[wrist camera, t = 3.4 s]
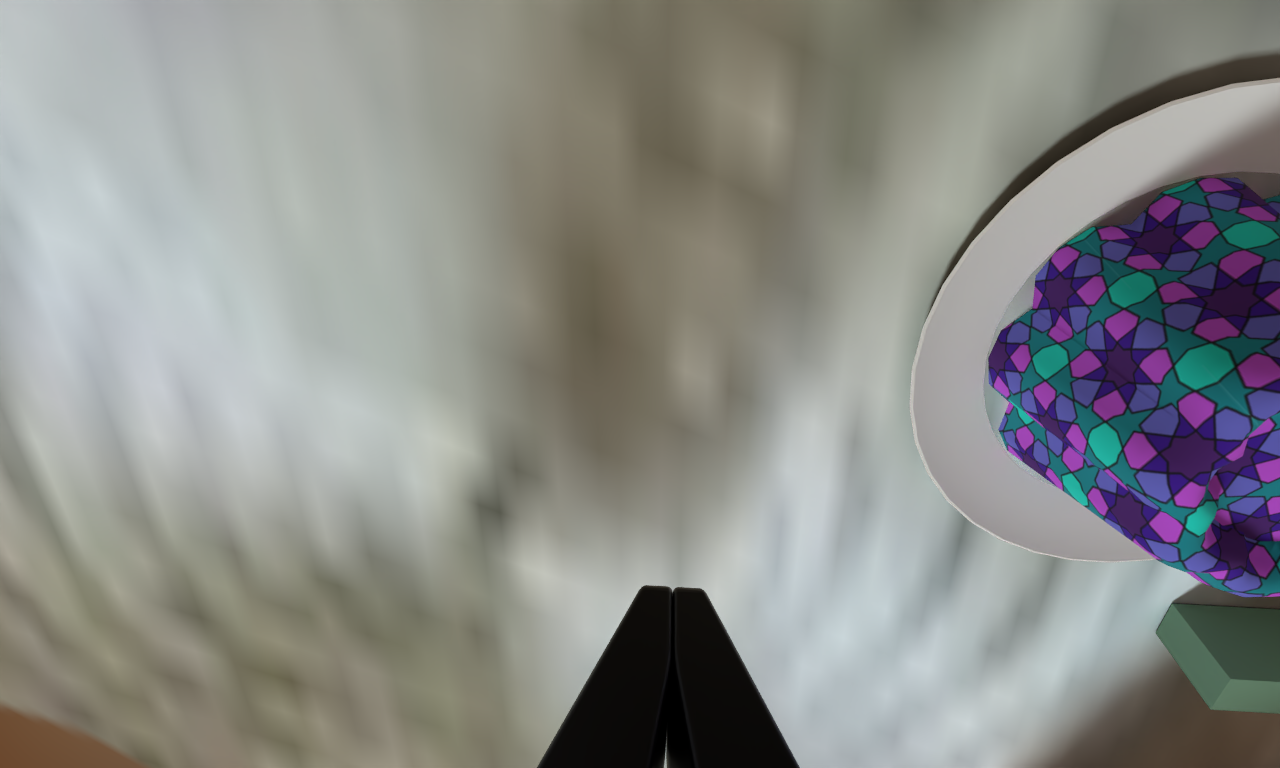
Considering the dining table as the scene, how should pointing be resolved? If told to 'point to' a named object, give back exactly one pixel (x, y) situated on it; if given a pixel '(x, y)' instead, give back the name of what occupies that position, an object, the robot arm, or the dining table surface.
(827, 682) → the dining table surface
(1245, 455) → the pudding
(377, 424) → the dining table surface
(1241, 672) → the frame
